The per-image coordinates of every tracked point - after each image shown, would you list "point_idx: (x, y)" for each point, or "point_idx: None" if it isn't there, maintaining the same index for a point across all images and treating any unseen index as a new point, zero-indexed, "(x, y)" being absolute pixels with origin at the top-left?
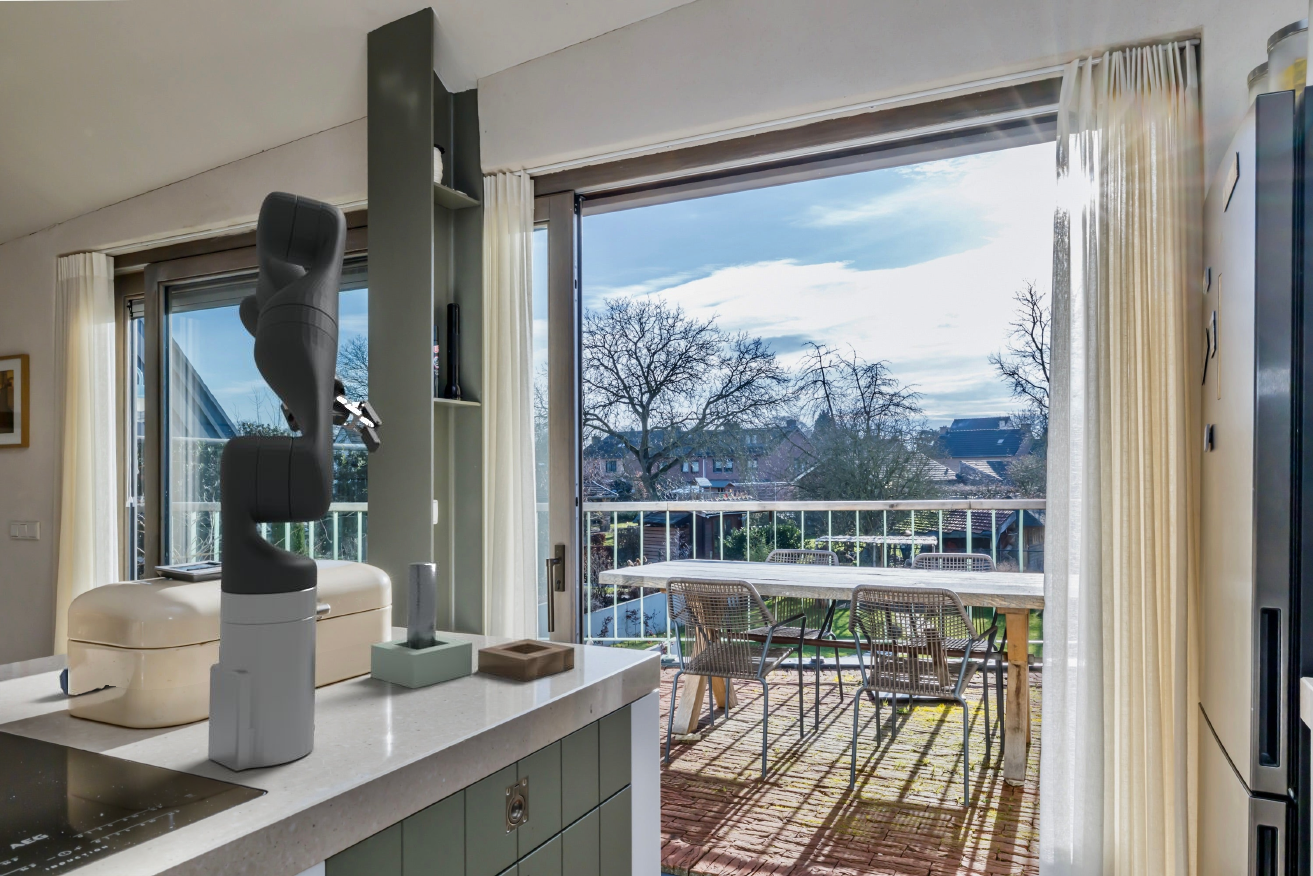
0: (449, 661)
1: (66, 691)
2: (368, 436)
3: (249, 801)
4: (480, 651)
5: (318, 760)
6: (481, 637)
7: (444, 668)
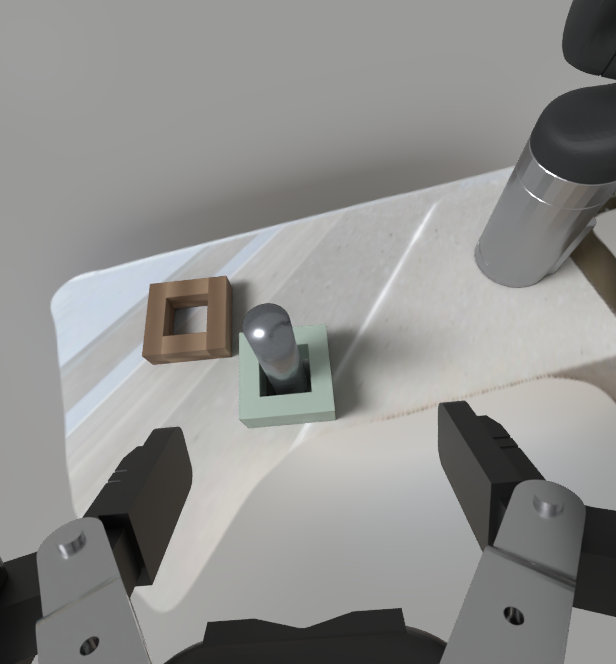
0: None
1: None
2: (157, 492)
3: None
4: (225, 344)
5: (480, 224)
6: None
7: None
